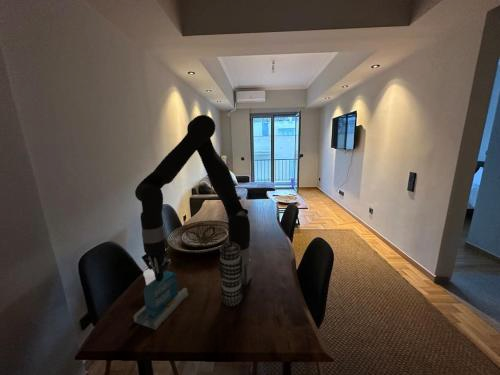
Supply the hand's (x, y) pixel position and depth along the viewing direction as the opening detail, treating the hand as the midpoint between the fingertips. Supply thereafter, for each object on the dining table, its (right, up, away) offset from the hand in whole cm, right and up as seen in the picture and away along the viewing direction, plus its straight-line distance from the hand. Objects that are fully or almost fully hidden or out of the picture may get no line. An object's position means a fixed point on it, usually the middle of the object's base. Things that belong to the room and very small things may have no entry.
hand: (159, 279), depth 78 cm
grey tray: (0, -13, +3) cm, 13 cm away
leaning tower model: (+27, -12, +6) cm, 30 cm away
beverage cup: (-9, -11, +14) cm, 19 cm away
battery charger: (+25, +10, +107) cm, 111 cm away
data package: (+1, -12, +3) cm, 12 cm away
